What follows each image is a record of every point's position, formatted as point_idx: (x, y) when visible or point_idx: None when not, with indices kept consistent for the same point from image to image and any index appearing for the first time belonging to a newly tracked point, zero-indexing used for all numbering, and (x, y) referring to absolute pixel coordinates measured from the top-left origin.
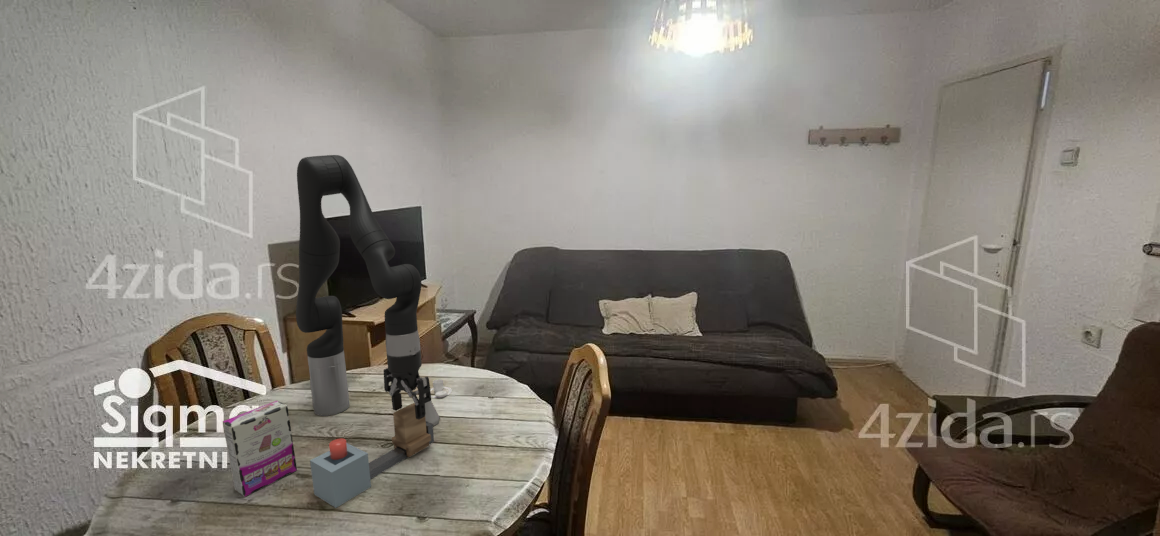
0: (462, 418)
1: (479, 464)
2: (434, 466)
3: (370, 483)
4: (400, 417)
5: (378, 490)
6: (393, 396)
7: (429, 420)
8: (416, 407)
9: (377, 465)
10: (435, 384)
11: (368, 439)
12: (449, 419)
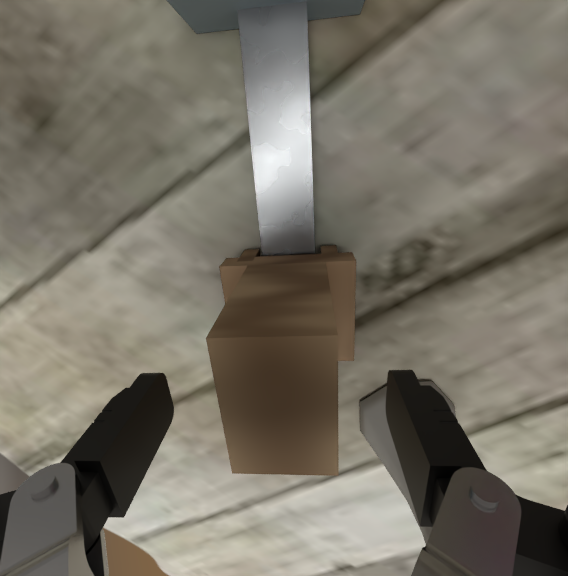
0: (320, 475)
1: (62, 350)
2: (146, 272)
3: (190, 25)
4: (249, 329)
5: (151, 42)
6: (444, 473)
7: (372, 425)
8: (91, 444)
9: (255, 108)
10: None
11: (526, 239)
12: (351, 457)
